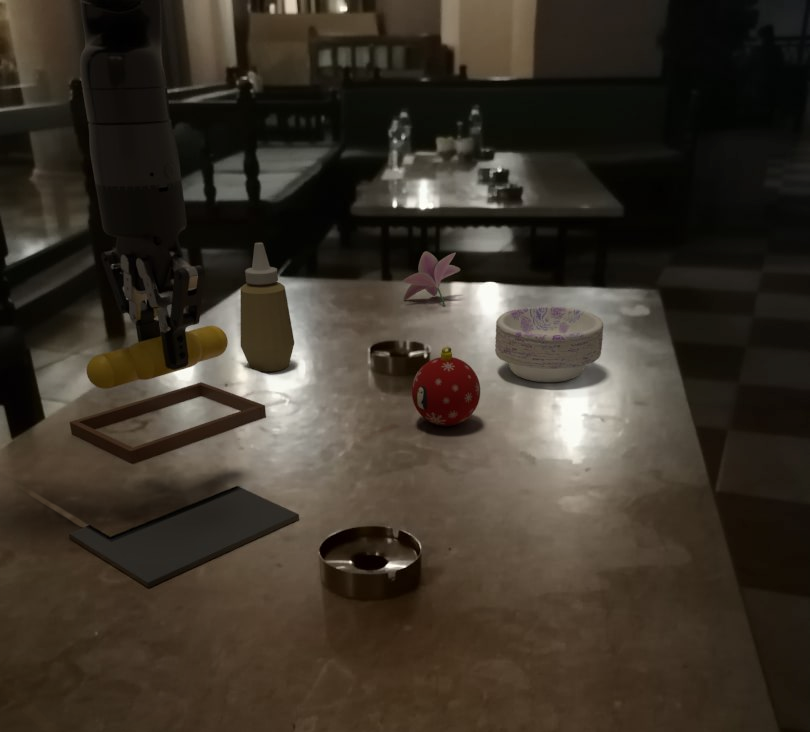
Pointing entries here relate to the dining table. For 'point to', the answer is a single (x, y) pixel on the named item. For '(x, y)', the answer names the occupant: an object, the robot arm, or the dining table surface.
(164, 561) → the board
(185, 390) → the tray
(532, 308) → the paper bowls
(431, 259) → the lily
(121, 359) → the yellow segmented rod
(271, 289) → the squeeze bottle
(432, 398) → the christmas ornament
